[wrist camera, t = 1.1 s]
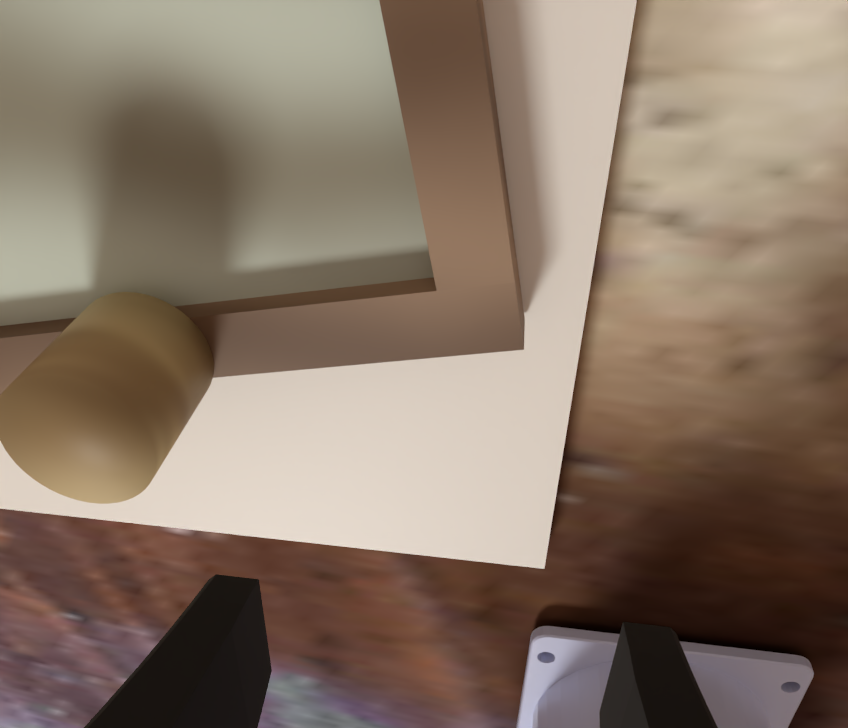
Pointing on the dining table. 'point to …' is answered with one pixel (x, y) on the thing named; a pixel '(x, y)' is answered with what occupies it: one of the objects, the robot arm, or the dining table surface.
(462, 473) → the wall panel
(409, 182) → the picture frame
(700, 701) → the robot arm
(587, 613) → the dining table surface
